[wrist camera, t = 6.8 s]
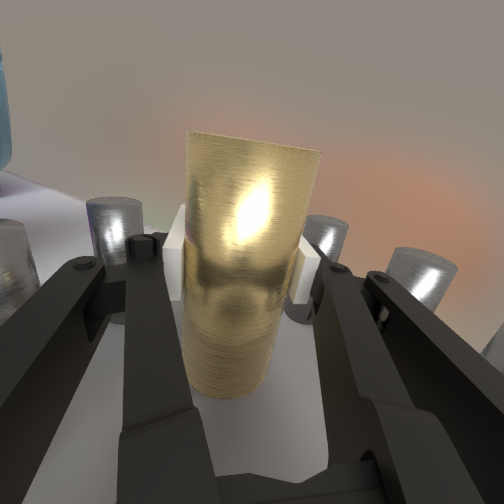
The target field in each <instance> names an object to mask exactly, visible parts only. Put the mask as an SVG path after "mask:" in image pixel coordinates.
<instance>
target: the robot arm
mask: <svg viewBox="0 0 504 504" xmlns="http://www.w3.org/2000/svg"><path fill="white" fill-rule="evenodd" d="M1 61H2V55H1V48H0V170H1V169H3V168H4V167H6V165H7V164H8V163H9V162H10V159H11V155H12V143H11V127H10V116H9V107H8V98H7V89H6V81H5V75H4V70H3V66H2V62H1ZM125 250H126V263H124V264H120V265H112V266H105V263H104V260H103V259H101V258H99V257H94V256H81V257H77V258H74V259H72V260H69V261H68V262H66V263H65V264H64V265H62V266H61V267H60V268H59V269H58V270H57V271H56V272H55V273H54V274H53V275H52V276H51V277H50V278H49V279H48V280H47V281H46V282H45V283H44V284H43V285H42V286H41V287H40V288H39V289H38V290H37V291H36V292H35V293H34V294H33V295H32V296H31V297H30V298H29V299H28V300H27V301H26V302H25V303H24V304H23V305H22V306H21V307H20V308H19V309H18V310H17V311H16V312H15V313H14V314H13V315H12V316H11V317H10V318H9V319H8V320H7V321H6V322H5V323H4V324H3V325H2V326H1V327H0V504H22V502H23V500H24V497H25V495H26V493H27V491H28V489H29V487H30V485H31V483H32V481H33V479H34V477H35V475H36V473H37V470H38V468H39V466H40V464H41V462H42V460H43V458H44V456H45V454H46V452H47V450H48V448H49V446H50V443H51V441H52V439H53V437H54V435H55V433H56V431H57V429H58V427H59V425H60V423H61V421H62V419H63V416H64V414H65V412H66V410H67V408H68V406H69V404H70V402H71V400H72V398H73V396H74V394H75V392H76V390H77V387H78V385H79V383H80V381H81V379H82V377H83V375H84V373H85V371H86V369H87V367H88V365H89V363H90V360H91V358H92V356H93V354H94V352H95V350H96V348H97V346H98V344H99V342H100V340H101V338H102V336H103V333H104V331H105V329H106V327H107V325H108V323H109V321H110V319H111V316H112V314H115V313H120V312H125V344H124V388H123V426H122V432H121V433H120V437H119V449H118V475H117V504H504V375H503V374H502V373H501V372H499V371H498V370H497V369H496V368H495V367H494V366H493V365H491V364H490V363H489V362H488V361H487V360H486V359H485V358H483V357H482V356H481V355H480V354H479V353H478V352H476V350H474V349H473V348H472V347H471V346H470V345H469V344H468V343H466V342H465V341H464V340H463V339H462V338H461V337H460V336H459V335H457V334H456V333H455V332H454V331H453V330H452V329H451V328H449V327H448V326H447V325H446V324H445V323H444V322H443V321H441V320H440V319H439V318H438V317H437V316H436V315H435V314H434V313H432V312H431V311H430V310H429V309H428V308H427V307H426V306H424V305H423V304H422V303H421V302H420V301H419V300H418V299H417V298H415V297H414V296H413V295H412V294H411V293H410V292H409V291H407V290H406V289H405V288H404V287H403V286H402V285H401V284H400V283H398V282H397V281H396V280H395V279H394V278H392V277H391V276H389V275H387V274H386V273H384V272H383V273H382V272H380V271H379V272H378V271H370V272H368V273H367V276H366V278H360V277H356V276H353V274H352V272H351V271H350V269H349V268H348V267H346V266H344V265H342V264H339V263H335V262H332V261H331V260H330V259H329V258H328V257H327V256H326V255H325V254H324V252H323V251H322V250H321V249H320V248H319V247H318V246H316V245H315V244H313V243H308V242H307V240H306V239H305V238H304V237H303V235H302V234H301V238H300V242H299V246H298V250H297V254H296V258H295V262H294V266H293V270H292V274H291V278H290V282H289V286H288V290H287V291H288V293H289V296H290V298H291V300H292V302H293V304H307V303H308V299H309V296H310V295H311V297H312V299H313V302H312V305H311V308H310V312H309V315H308V318H307V320H310V317H312V322H313V330H314V338H315V346H316V354H317V362H318V370H319V378H320V386H321V394H322V402H323V410H324V418H325V426H326V434H327V442H328V452H329V460H328V467H327V469H326V470H324V471H322V472H320V473H318V474H317V475H315V476H313V477H311V478H309V479H307V480H305V481H304V482H302V483H297V484H295V483H290V482H286V481H281V480H277V479H273V478H268V477H264V476H259V475H255V474H251V473H246V474H237V475H228V476H219V477H215V475H214V471H213V466H212V462H211V458H210V454H209V449H208V445H207V441H206V437H205V433H204V428H203V424H202V420H201V417H200V413H199V411H198V409H197V407H194V405H193V402H192V398H191V393H190V388H189V384H188V379H187V375H186V370H185V366H184V361H183V357H182V352H181V347H180V343H179V338H178V334H177V329H176V325H175V320H174V316H173V311H172V306H171V302H170V301H181V297H182V292H183V287H184V255H185V204H181V207H180V209H179V211H178V214H177V216H176V218H175V220H174V223H173V225H172V227H171V230H170V232H169V233H159V232H155V233H153V234H151V235H150V234H136V235H132V236H129V237H128V238H126V239H125ZM385 308H386V309H387V310H388V312H389V314H388V316H387V318H386V320H385V321H384V320H383V319H382V318H381V316H382V314H383V312H384V310H385Z"/></svg>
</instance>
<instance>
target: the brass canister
mask: <svg viewBox="0 0 504 504" xmlns="http://www.w3.org/2000/svg"><path fill="white" fill-rule="evenodd" d="M321 154H322V152H321V151H317V150H311V149H306V148H300V147H294V146H288V145H282V144H275V143H269V142H263V141H257V140H251V139H245V138H237V137H231V136H225V135H218V134H211V133H204V132H197V131H189V130H188V131H187V157H186V159H187V160H186V161H187V162H186V200H185V202H186V203H185V255H184V287H183V330H182V357H183V361H184V366H185V370H186V375H187V379H188V382H189V383H190V384H191V385H192V386H193V387H194V388H195V389H196V390H198V391H199V392H201V393H203V394H205V395H207V396H210V397H213V398H218V399H234V398H239V397H242V396H245V395H247V394H249V393H251V392H252V391H254V390H255V389H256V388H257V387H258V386H259V385H260V384H261V383H262V382H263V380H264V378H265V377H266V374H267V371H268V367H269V363H270V359H271V355H272V351H273V347H274V343H275V339H276V335H277V331H278V327H279V323H280V318H281V314H282V310H283V306H284V302H285V298H286V294H287V290H288V286H289V282H290V278H291V274H292V270H293V266H294V262H295V258H296V254H297V250H298V246H299V242H300V238H301V234H302V230H303V226H304V222H305V218H306V214H307V210H308V206H309V201H310V198H311V194H312V190H313V186H314V182H315V178H316V174H317V169H318V166H319V162H320V157H321Z"/></svg>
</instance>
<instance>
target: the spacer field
mask: <svg viewBox="0 0 504 504" xmlns="http://www.w3.org/2000/svg"><path fill="white" fill-rule="evenodd" d="M86 208H87V214H88V220H89V226H90V232H91V238H92V244H93V250H94V256H95V257H99V258H101V259H103V260H104V263H105V266H112V265H120V264H124V263H126V250H125V239H126V238H128V237H129V236H132V235H136V234H144V229H143V214H142V203H141V202H140V201H139V200H136V199H132V198H126V197H101V198H95V199H91V200H89V201H87V202H86ZM348 228H349V225H348V224H347V223H345V222H344V221H342V220H339V219H336V218H333V217H329V216H323V215H310V216H307V219H306V223H305V227H304V231H303V237H304V238H305V239H306V240H307V242H308V243H313V244H315V245H316V246H318V247H319V248H320V249H321V250H322V251H323V252H324V254H325V255H326V256H327V257H328V258H329V259H330V260H331V261H332V262H335V263H337V262H338V259H339V256H340V253H341V250H342V246H343V243H344V240H345V237H346V234H347V231H348ZM457 271H458V267H457V266H456V265H455V264H453V263H452V262H451V261H449V260H447V259H445V258H443V257H441V256H438V255H436V254H433V253H430V252H427V251H424V250H420V249H416V248H409V247H397V248H396V249H395V251H394V253H393V255H392V257H391V260H390V262H389V265H388V267H387V269H386V272H385V273H386V274H387V275H389V276H391V277H392V278H394V279H395V280H396V281H397V282H398V283H400V284H401V285H402V286H403V287H404V288H405V289H406V290H407V291H409V292H410V293H411V294H412V295H413V296H414V297H415V298H417V299H418V300H419V301H420V302H421V303H422V304H423V305H424V306H426V307H427V308H428V309H429V310H430V311H431V312H432V313H434V311H435V310H436V308H437V306H438V304H439V303H440V301H441V299H442V297H443V296H444V294H445V292H446V290H447V288H448V287H449V285H450V283H451V282H452V280H453V278H454V276H455V275H456V273H457ZM40 287H41V284H40V281H39V277H38V274H37V270H36V267H35V263H34V260H33V256H32V253H31V250H30V246H29V243H28V239H27V236H26V232H25V229H24V225H23V224H22V223H20V222H18V221H15V220H9V219H0V327H1V326H2V325H3V324H4V323H5V322H6V321H7V320H8V319H9V318H10V317H11V316H12V315H13V314H14V313H15V312H16V311H17V310H18V309H19V308H20V307H21V306H22V305H23V304H24V303H25V302H26V301H27V300H28V299H29V298H30V297H31V296H32V295H33V294H34V293H35V292H36V291H37V290H38V289H39V288H40ZM312 302H313V299H312V297H311V295H310V296H309V299H308V303H307V304H293V302H292V300H291V298H290V296H289V295H288V299H287V303H286V307H285V311H286V313H287V315H288V316H289V317H290V318H291V319H292V320H294V321H296V322H298V323H301V324H313V322H312V317H310V320H307V318H308V315H309V312H310V308H311V305H312ZM388 314H389V312H388V310H387V309H386V308H385V310H384V312H383V314H382V316H381V318H382V319H383V320H384V321H385V320H386V318H387V316H388ZM109 322H111V323H114V324H125V312H120V313H115V314H112V316H111V319H110V321H109ZM480 355H481V356H482V357H483V358H485V359H486V360H487V361H488V362H489V363H490V364H491V365H493V366H494V367H495V368H496V369H497V370H498V371H499V372H501V373H502V374H503V375H504V323H503V324H502V325H501V327H500V328H499V329H498V331H497V332H496V333H495V335H494V336H493V337H492V339H491V340H490V342H489V343H488V344H487V346H486V347H485V348H484V350H483V351H482V352H481V354H480Z"/></svg>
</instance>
